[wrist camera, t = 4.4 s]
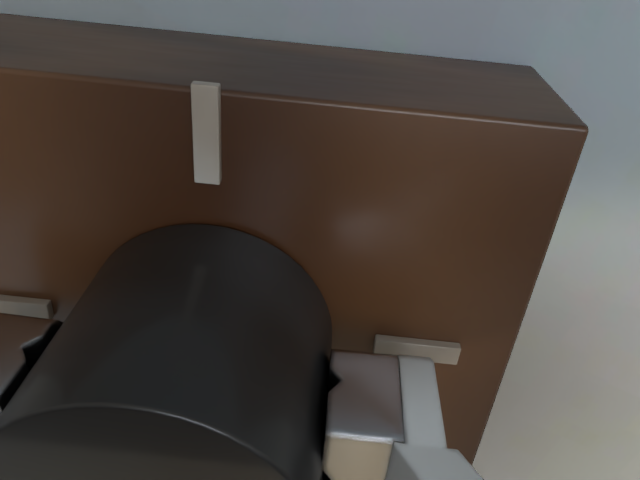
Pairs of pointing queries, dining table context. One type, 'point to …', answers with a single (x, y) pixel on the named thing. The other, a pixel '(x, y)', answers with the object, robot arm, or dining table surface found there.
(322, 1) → the dining table surface
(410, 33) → the dining table surface
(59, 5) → the dining table surface
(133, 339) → the dial
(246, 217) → the dial panel
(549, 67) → the dining table surface
